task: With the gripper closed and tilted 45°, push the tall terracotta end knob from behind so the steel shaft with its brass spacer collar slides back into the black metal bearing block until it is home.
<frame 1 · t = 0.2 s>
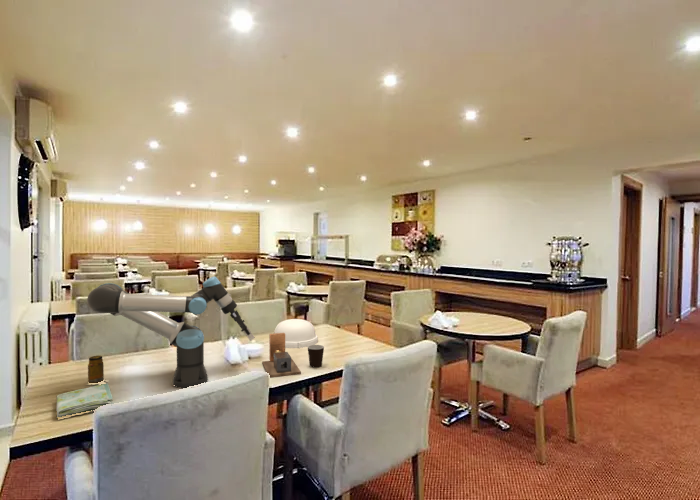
hand: (250, 336, 206), 16 cm above the table, tool tilted 35°, fingers open, 13 cm apart
shaft: (279, 350, 207), point 9 cm above the table, slide at 7.0 cm
coffee mug: (316, 365, 210), on the table
dome cover: (294, 342, 256), on the table
base board: (282, 371, 200), on the table
bearing block: (282, 362, 200), on the base board, point 5 cm above the table
towel: (84, 406, 158), on the table
condiment: (97, 383, 183), on the table
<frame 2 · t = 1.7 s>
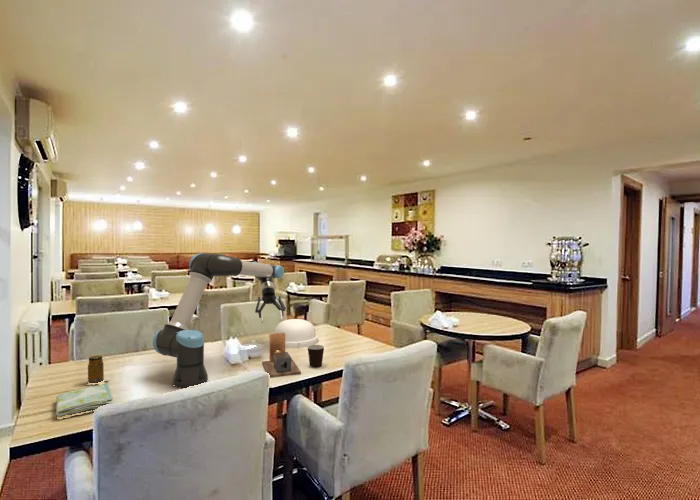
hand: (272, 321, 229), 19 cm above the table, tool tilted 45°, fingers open, 10 cm apart
nothing on the table moved.
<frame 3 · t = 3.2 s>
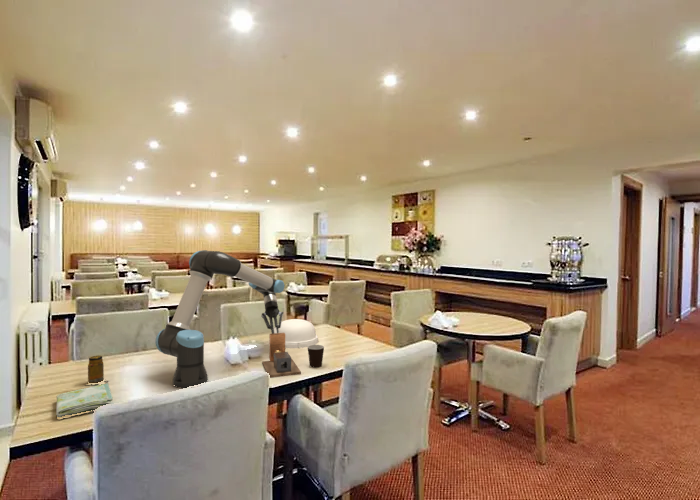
hand: (276, 338, 222), 11 cm above the table, tool tilted 45°, fingers closed
nothing on the table moved.
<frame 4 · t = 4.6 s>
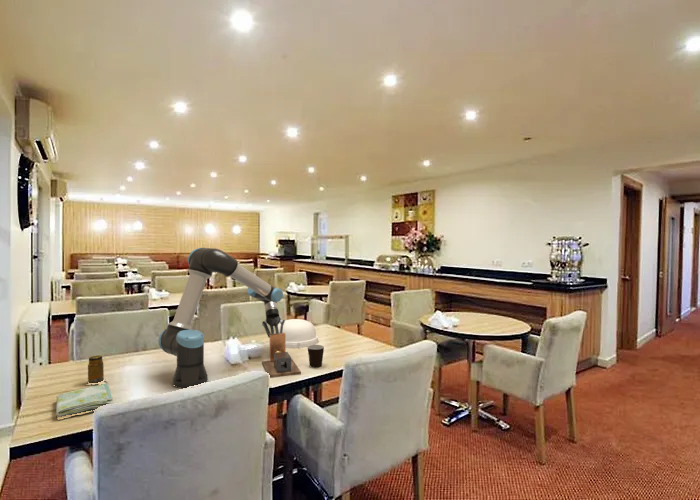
hand: (277, 347, 215), 7 cm above the table, tool tilted 45°, fingers closed
shaft: (279, 350, 207), point 9 cm above the table, slide at 6.4 cm, touching gripper
everything else where it was.
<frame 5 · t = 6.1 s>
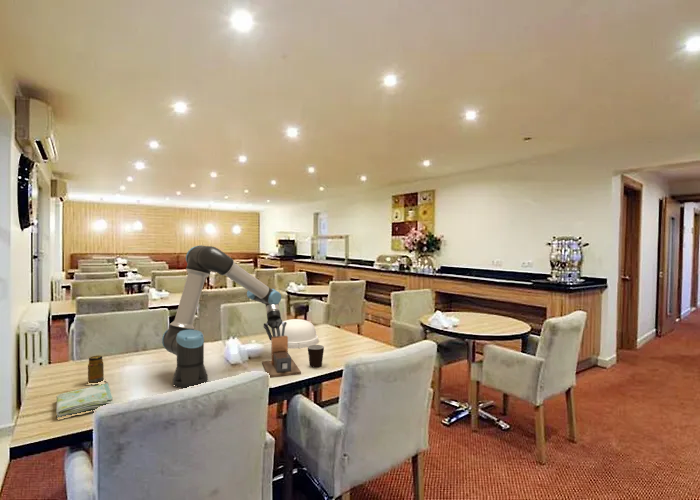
hand: (278, 350, 210), 8 cm above the table, tool tilted 45°, fingers closed
shaft: (281, 353, 201), point 9 cm above the table, slide at 0.3 cm, touching gripper
everything else where it was.
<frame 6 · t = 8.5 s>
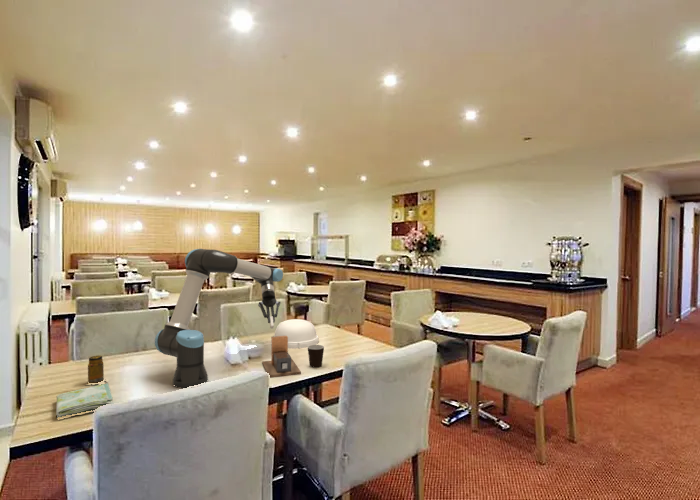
hand: (272, 327, 222), 17 cm above the table, tool tilted 45°, fingers closed
shaft: (281, 353, 201), point 9 cm above the table, slide at 0.3 cm
everything else where it was.
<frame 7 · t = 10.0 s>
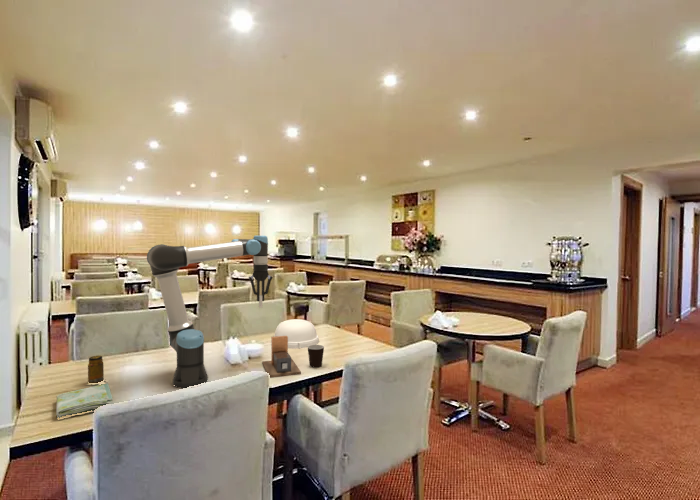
hand: (260, 307, 216), 29 cm above the table, tool pointing down, fingers closed
nothing on the table moved.
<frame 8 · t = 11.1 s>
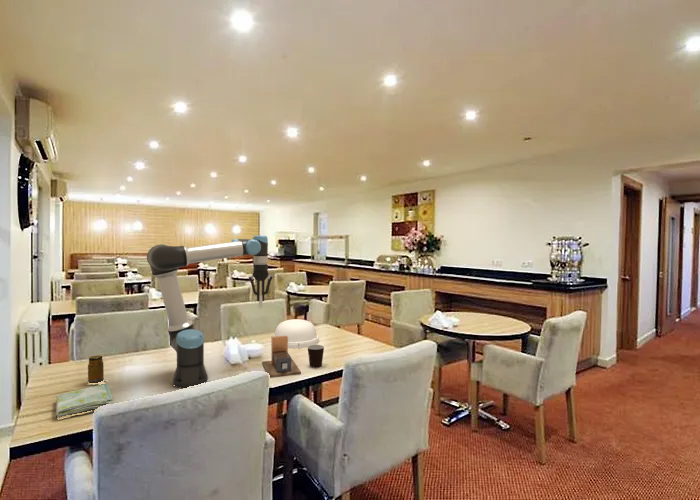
hand: (260, 307, 216), 29 cm above the table, tool pointing down, fingers closed
at the end: shaft slide at 0.3 cm; coffee mug moved 0.2 cm from its start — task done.
